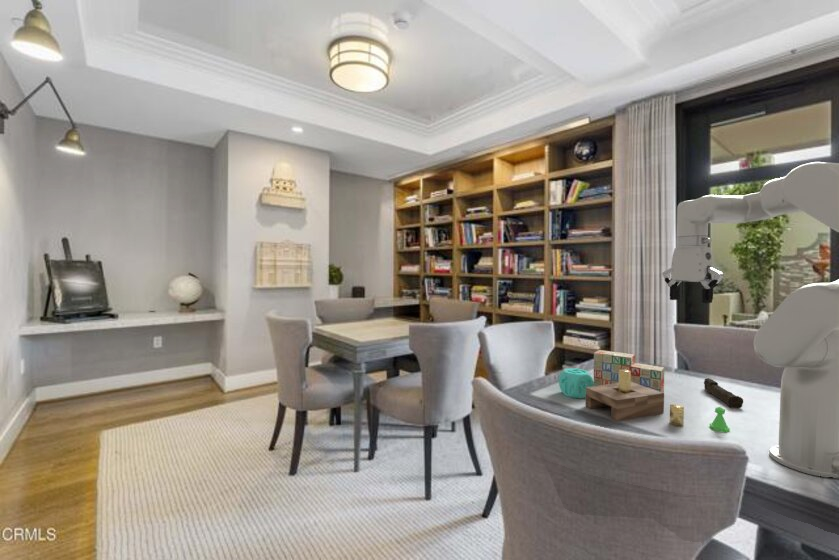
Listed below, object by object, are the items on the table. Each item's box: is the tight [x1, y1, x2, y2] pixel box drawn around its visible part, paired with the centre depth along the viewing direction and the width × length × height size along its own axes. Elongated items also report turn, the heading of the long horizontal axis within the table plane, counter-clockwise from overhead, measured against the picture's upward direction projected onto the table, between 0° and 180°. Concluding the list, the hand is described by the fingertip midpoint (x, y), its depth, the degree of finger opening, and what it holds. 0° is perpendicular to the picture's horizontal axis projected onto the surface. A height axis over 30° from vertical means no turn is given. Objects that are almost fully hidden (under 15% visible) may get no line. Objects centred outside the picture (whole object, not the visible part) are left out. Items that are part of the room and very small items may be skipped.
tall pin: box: [618, 369, 631, 393], centre depth 117 cm, size 3×3×12 cm
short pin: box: [669, 403, 685, 427], centre depth 107 cm, size 3×3×5 cm
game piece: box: [709, 406, 731, 433], centre depth 104 cm, size 4×4×6 cm
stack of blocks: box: [593, 349, 665, 394], centre depth 136 cm, size 21×6×12 cm, turn 48°
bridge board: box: [585, 382, 665, 422], centre depth 117 cm, size 12×18×6 cm, turn 109°
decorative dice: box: [558, 367, 595, 399], centre depth 131 cm, size 8×8×8 cm
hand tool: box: [703, 377, 744, 409], centre depth 127 cm, size 19×4×5 cm, turn 165°
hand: (690, 301), depth 114 cm, fingers open, 9 cm apart
